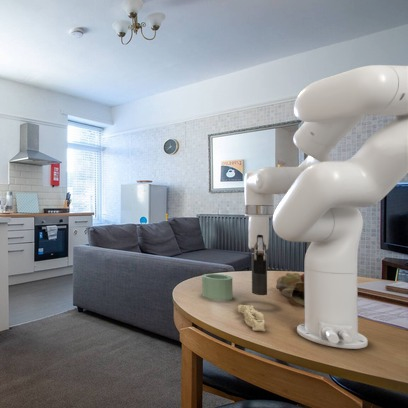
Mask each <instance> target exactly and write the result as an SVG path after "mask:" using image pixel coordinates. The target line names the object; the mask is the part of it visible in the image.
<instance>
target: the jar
mask: <svg viewBox="0 0 408 408" xmlns="http://www.w3.org/2000/svg"><path fill="white" fill-rule="evenodd" d="M233 292H234V291H233V277H232V276H230V275H227V274H223V273H222V274H221V273H204V274H202V275H201V295H202V296H203V297H204V298H206V299H210V300H216V301H230V300H232V299H233V297H234V296H233V294H234V293H233Z"/></svg>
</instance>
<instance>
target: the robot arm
mask: <svg viewBox="0 0 408 408" xmlns="http://www.w3.org/2000/svg"><path fill="white" fill-rule="evenodd" d="M293 113H294V116H295V117H296V118H297V119H298V120H299V121H301V122H303V123H302V124H301V126H300V127H299V128H298V129H297V130H296V131H295V132H294V134H293V137H292V138H293V139H292V140H293V144H294V145H295V146H296V148H297V149H298V150H299V151H300V152H301V153H303V154H305V155H307V157H306V158H305V159H304V160H303V161H302V162H301V163H300V164H299V165H298V166H266V167H262V168H260V169H256V170H249V171H246V172H245V174H244V216H245V217H248V224H247V225H248V226H247V227H248V229H247V230H248V232H247V234H248V235H247V237H248V238H247V240H248V244H247V245H248V249H249V250H252V249H253V253H254V260H253V266H254V273H256V274H266V260H265V254H266V251H267V250H269V242H270V241H269V240H270V218H271V217H272V229H273V230H274V233H275V234H276V235H277V236H278V237H279V238H281V239H282V240H284V241H287V242H293V243H310V244H309V246H308V247H307V249H306V253H305V255H304V263H303V265H304V267H303V270H304V271H303V272H304V273H303V274H304V285H305V307H304V323H300V324H297V327H296V332H297V334H298V335H299V336H301V337H302V338H304V339H306V340H308V341H310V342H313V343H316V344H319V345H322V346H323V345H324V346H327V347H332V348H337V349H346V350H347V349H348V350H359V349H364V348H366V347H368V344H369V342H368V340H369V339H368V338H367V337H366V336H365V335H363V334H362V333H359V301H358V299H359V297H358V296H359V295H358V290H359V289H358V256H359V246H360V241H361V236H362V233H363V228H364V218H363V215H362V213H361V211H360V209H359V208H366V207H371V206H374V205H376V204H379V202H381V201H382V200H383V199H384V198H385V197H386V196H387V195H388V194H389V193H390V192H391V191H392V190H393V189H394V188H395V187H396V186H397V185H398V184H399V183H400V182H401V181H402V180H403V179H404V177H406V175H407V174H408V65H394V64H393V65H392V64H390V65H389V64H386V65H385V64H370V65H365V66H364V65H363V66H360V67H356V68H352V69H350V70H347V71H344V72H340V73H337V74H334V75H331V76H327V77H325V78H320V79H318V80H315V81H313V82H312V83H310V84H307V86H305V87H304V88H303V89H302V90H301V91H300V92H299V93H298V95H297V97H296V98H295V100H294V104H293ZM366 116H386V117H387V116H395V118H394V119H393V120H391V122H389V123H387V124H386V125H384V126H383V127H381V128H379V129H378V130H377V131H375V132H374V133H373V134H372V135H371V136H369V137H368V138H367V139H366V140H365V141H364V143H363V144H362V145H361V146H360V148H359V149H358V151H356V153H355V154H354V155H352V157H350V158H349V159H346V160H336V161H333V160H331V154H330V152H331V151H332V150H333V149H334V148H335V147H336V146H337V145H338V144H339V143H340V142H341V141H342V140H343V139H344V138H345V137H346V136H347V135H348V133H349V132H351V131H352V130H353V129H354V128H355V127H356V126H357V125H358V124H359V123H360V121H362V120H363V119H364V118H365V117H366ZM275 195H283V197H282V199H281V200H280V202H279V203H278V205H277V206H276V209H275V207H274V205H275V203H274V202H275V201H274V200H275V199H274V198H275V197H274V196H275Z"/></svg>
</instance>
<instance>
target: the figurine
mask: <svg viewBox="0 0 408 408" xmlns="http://www.w3.org/2000/svg"><path fill="white" fill-rule="evenodd" d="M275 288H276V290H278V291H279V292H280V293H281V295H282V296H284V297H285V298H286V299H288V300H290V301H291V302H292V303H295V304H296V305H299V306H301V307H303V308H305V285H304V273H302V274H300V273H298V272H296V273H295V272H294V273H292V272H291V273H289V272H287V273H286V274H285V275H282V276H280V277H278V278H277V279H276V285H275Z"/></svg>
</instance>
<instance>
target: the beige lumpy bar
mask: <svg viewBox="0 0 408 408" xmlns="http://www.w3.org/2000/svg"><path fill="white" fill-rule="evenodd" d="M237 312H238V313H241V314H243V317H244V322H245V324H246V325H247V326H248V327H251V328H252V331H254V332H258V331H261V332H265V331H266V328H265V324H266V320H265V319H264V317H265V316H264V314H263V313H262V312H260V311H258V310H257V309H255V308H254V305H248V304H238V306H237Z"/></svg>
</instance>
